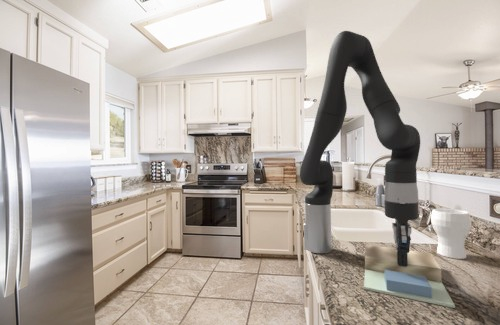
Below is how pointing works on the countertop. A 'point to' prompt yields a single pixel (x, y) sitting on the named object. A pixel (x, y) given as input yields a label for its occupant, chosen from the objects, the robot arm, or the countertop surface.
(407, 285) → the tile
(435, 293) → the mat
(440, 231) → the white vase
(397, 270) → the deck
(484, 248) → the countertop surface
